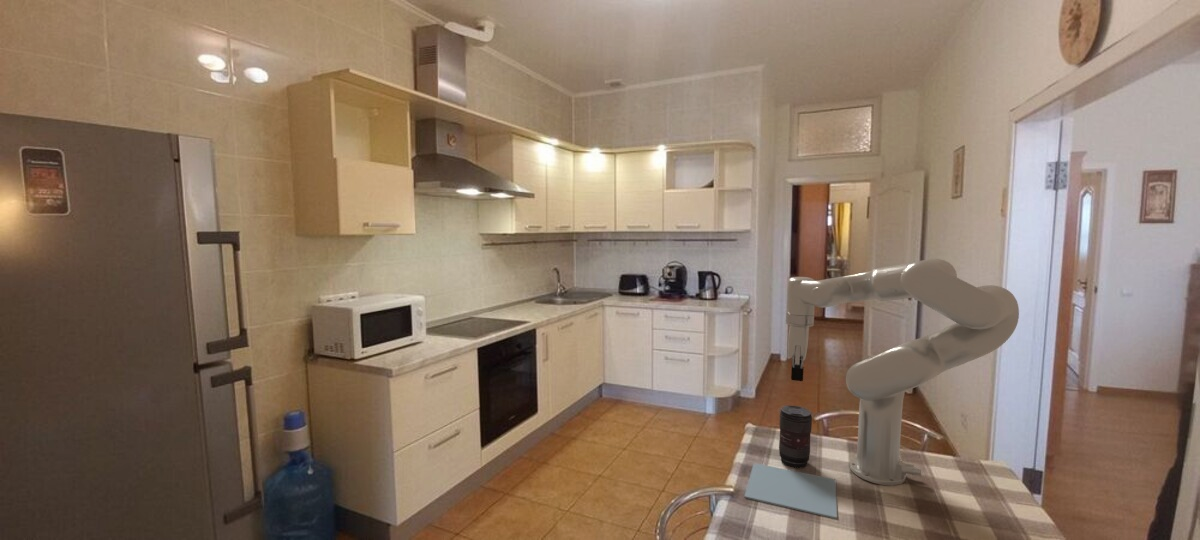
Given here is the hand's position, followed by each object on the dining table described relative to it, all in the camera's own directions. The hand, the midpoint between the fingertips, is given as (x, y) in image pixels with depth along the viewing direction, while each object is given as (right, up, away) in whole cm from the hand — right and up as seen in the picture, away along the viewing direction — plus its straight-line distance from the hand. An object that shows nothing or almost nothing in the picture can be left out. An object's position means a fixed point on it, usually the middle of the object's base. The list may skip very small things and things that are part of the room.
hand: (797, 379), depth 139 cm
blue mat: (-11, -22, -23) cm, 33 cm away
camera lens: (-5, -21, -10) cm, 24 cm away
